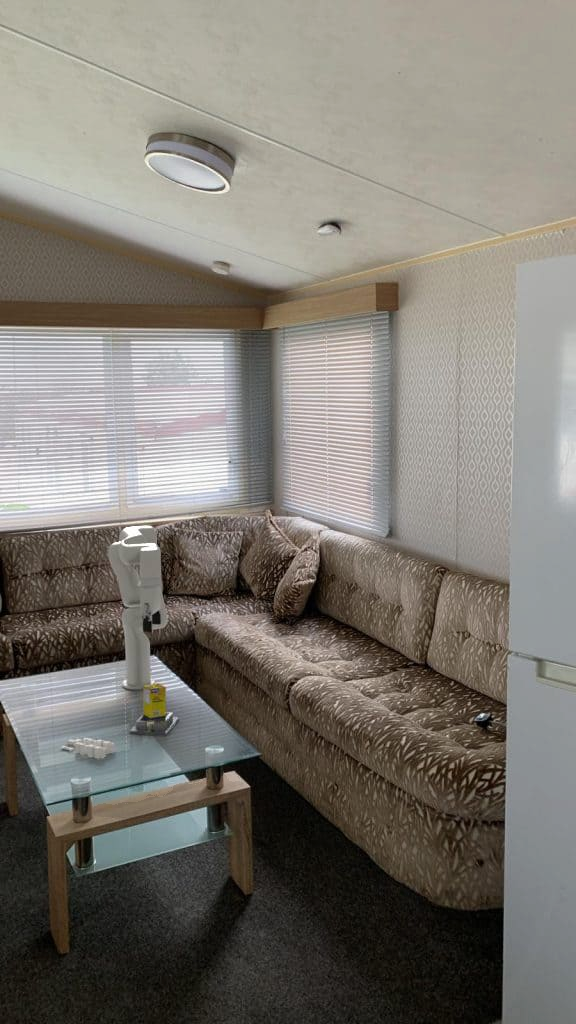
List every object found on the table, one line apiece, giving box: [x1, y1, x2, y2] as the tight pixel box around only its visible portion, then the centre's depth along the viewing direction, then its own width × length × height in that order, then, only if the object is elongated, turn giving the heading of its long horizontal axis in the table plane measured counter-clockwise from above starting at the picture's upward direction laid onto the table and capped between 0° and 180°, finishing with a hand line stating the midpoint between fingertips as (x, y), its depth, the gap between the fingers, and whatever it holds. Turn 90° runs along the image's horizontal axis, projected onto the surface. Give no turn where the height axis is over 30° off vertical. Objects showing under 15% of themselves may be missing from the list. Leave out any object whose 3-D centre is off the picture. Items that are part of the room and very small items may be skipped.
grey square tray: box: [129, 711, 180, 736], centre depth 295 cm, size 14×13×4 cm
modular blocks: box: [60, 737, 115, 760], centre depth 276 cm, size 20×7×4 cm, turn 66°
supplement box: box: [142, 682, 167, 720], centre depth 295 cm, size 6×6×11 cm
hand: (152, 627), depth 309 cm, fingers open, 9 cm apart
